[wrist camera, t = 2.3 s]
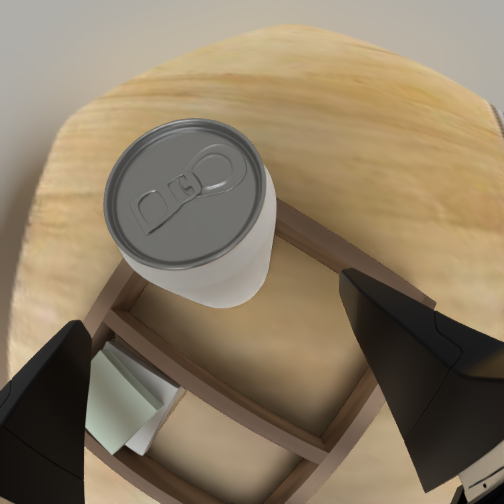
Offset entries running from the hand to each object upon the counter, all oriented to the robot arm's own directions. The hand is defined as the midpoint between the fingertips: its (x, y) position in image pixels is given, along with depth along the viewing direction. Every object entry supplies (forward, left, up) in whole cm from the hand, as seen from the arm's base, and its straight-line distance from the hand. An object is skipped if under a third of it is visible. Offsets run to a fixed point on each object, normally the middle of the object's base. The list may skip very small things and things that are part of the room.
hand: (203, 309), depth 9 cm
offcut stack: (-9, +3, -11) cm, 15 cm away
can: (+3, +3, -11) cm, 12 cm away
